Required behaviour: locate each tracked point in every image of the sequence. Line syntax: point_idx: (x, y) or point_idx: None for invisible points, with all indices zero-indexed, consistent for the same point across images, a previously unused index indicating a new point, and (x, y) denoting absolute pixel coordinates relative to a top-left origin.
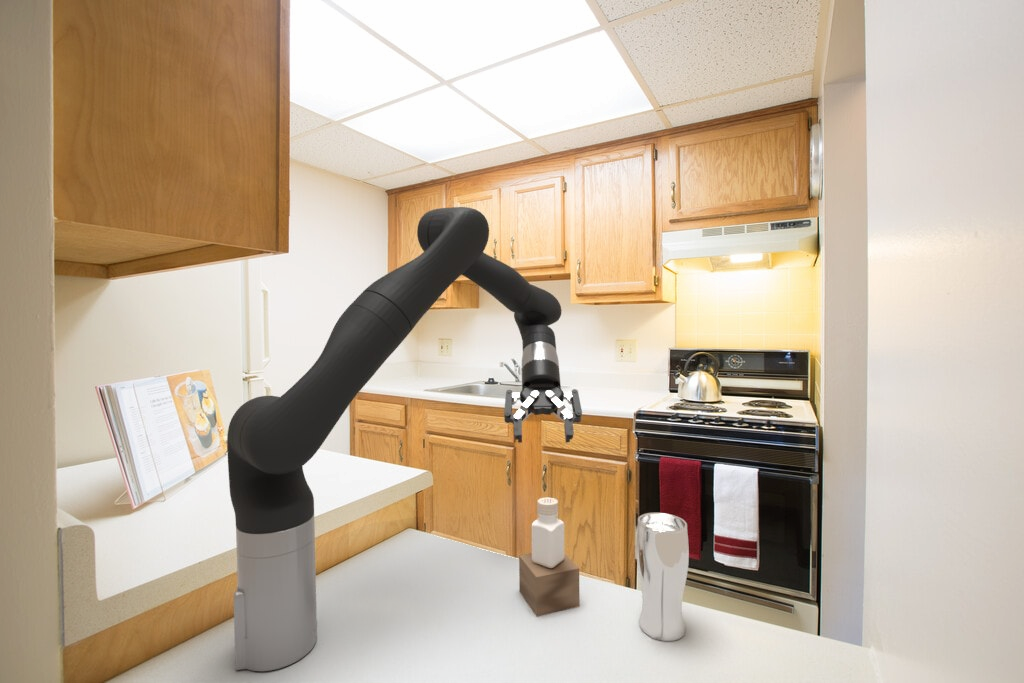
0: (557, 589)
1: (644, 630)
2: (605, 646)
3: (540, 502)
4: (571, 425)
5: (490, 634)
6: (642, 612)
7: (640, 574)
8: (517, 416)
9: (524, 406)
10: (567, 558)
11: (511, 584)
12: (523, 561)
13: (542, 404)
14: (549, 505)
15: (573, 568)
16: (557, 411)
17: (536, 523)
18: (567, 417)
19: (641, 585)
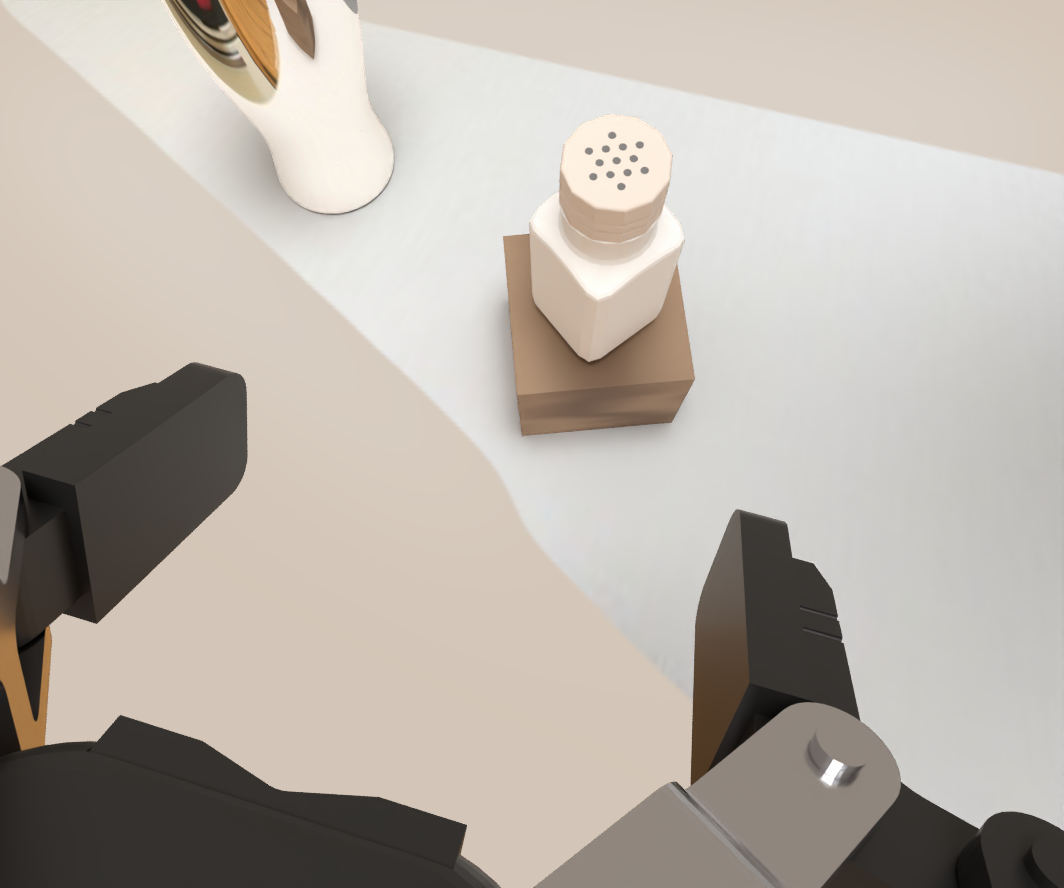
0: None
1: (392, 151)
2: (516, 138)
3: (661, 150)
4: (63, 443)
5: (799, 247)
6: (377, 147)
7: (361, 49)
8: (834, 726)
9: (714, 844)
10: (516, 308)
11: (689, 471)
12: (687, 336)
13: (236, 861)
14: (623, 117)
15: (523, 239)
16: (18, 730)
17: (666, 218)
18: (17, 479)
19: (362, 87)
